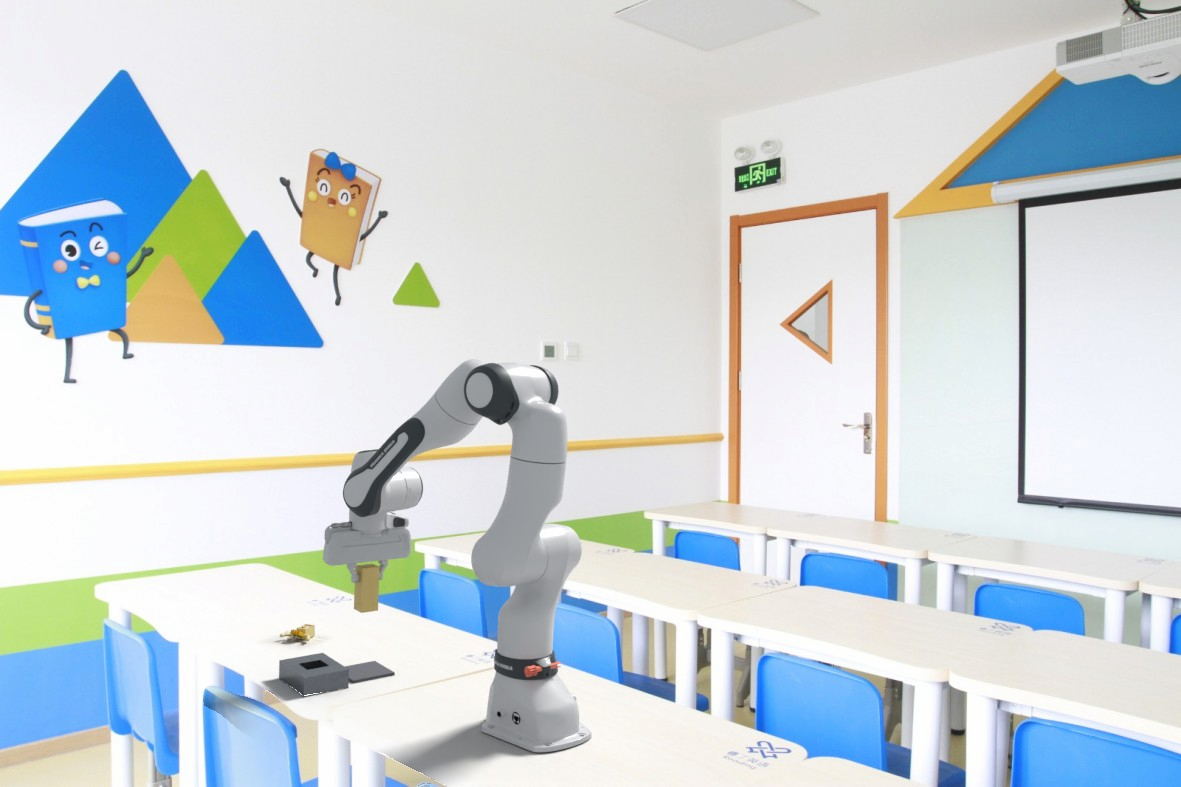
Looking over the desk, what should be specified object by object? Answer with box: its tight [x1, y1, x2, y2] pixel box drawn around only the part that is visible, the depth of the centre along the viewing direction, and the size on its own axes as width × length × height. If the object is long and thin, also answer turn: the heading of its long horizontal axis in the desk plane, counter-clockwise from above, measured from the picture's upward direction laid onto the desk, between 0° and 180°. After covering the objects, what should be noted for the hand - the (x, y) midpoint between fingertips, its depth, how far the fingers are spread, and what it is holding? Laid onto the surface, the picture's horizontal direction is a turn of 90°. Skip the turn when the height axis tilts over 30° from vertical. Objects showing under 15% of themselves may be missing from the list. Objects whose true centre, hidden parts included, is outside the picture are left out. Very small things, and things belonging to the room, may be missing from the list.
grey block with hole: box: [278, 652, 350, 697], centre depth 197 cm, size 14×10×4 cm
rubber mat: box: [343, 660, 395, 684], centre depth 205 cm, size 10×10×1 cm
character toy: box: [279, 623, 316, 642], centre depth 228 cm, size 8×3×8 cm
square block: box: [353, 563, 380, 614], centre depth 205 cm, size 4×4×10 cm
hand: (367, 580), depth 205 cm, fingers closed on square block, 4 cm apart
